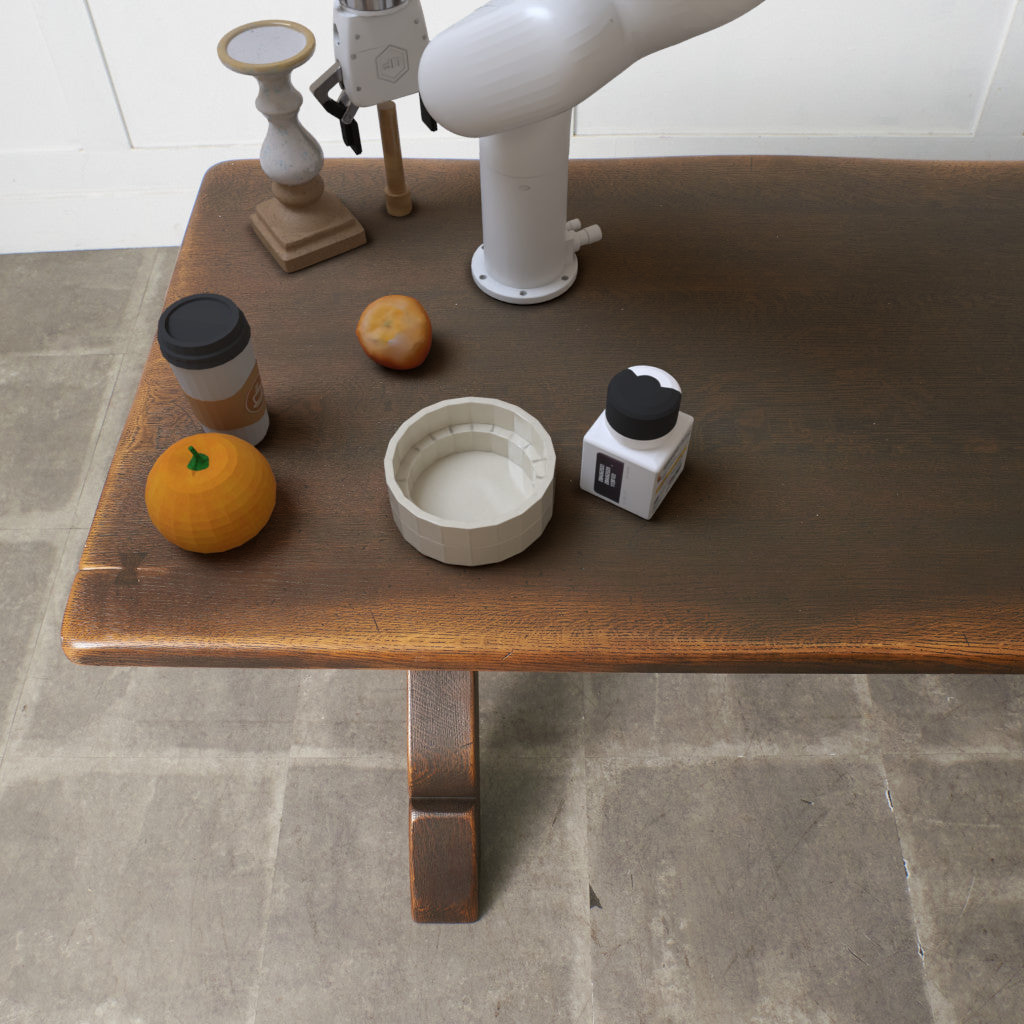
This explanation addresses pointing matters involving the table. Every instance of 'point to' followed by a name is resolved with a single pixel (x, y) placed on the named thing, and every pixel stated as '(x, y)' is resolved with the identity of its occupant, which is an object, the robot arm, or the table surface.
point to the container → (637, 441)
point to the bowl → (471, 480)
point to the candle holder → (289, 149)
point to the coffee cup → (215, 364)
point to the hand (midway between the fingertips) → (392, 137)
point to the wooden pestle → (393, 162)
